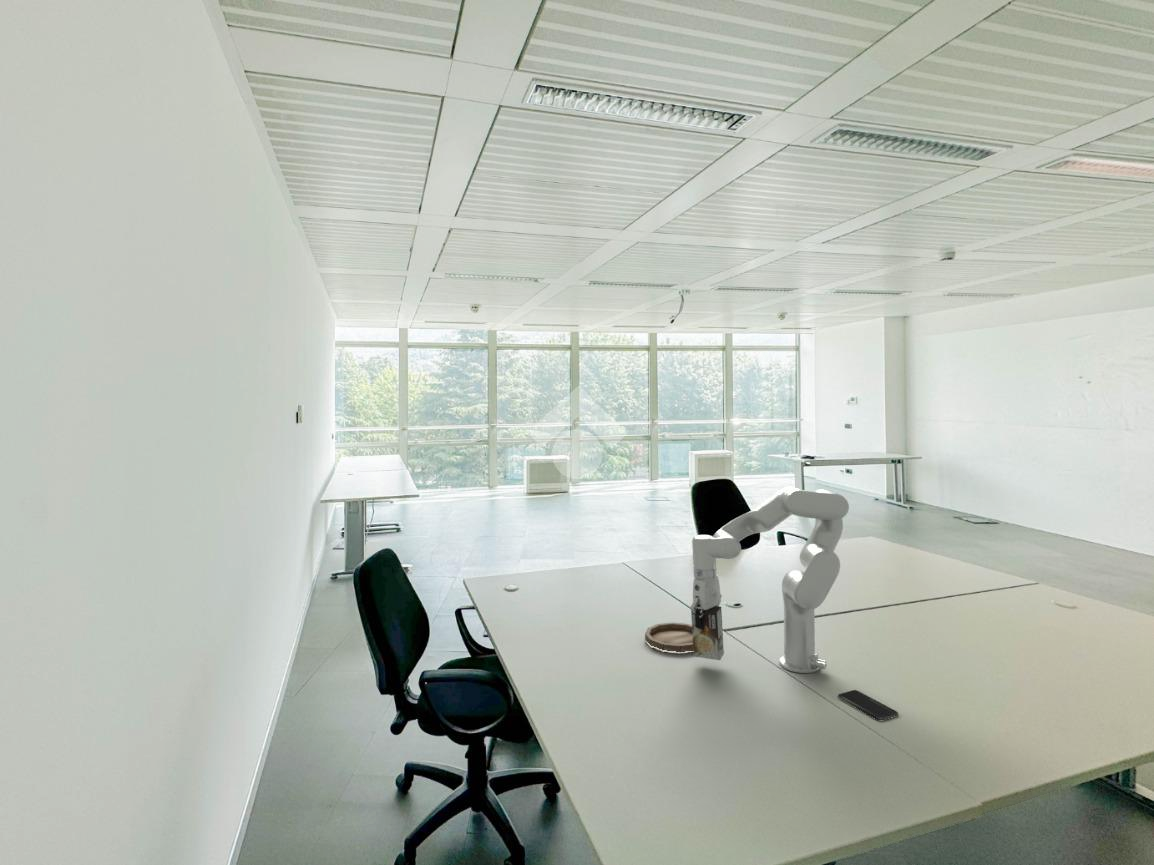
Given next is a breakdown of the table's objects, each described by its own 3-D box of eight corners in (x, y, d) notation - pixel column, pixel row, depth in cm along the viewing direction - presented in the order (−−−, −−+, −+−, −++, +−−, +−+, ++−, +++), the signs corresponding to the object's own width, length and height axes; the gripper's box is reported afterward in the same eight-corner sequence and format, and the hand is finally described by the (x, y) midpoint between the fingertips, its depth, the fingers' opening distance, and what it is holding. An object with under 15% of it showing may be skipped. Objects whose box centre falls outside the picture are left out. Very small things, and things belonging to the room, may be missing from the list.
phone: (879, 719, 160) (836, 694, 174) (879, 723, 160) (836, 698, 174) (900, 712, 163) (856, 689, 177) (900, 716, 163) (856, 692, 177)
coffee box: (724, 653, 197) (722, 606, 196) (720, 661, 191) (717, 612, 191) (698, 649, 201) (695, 603, 200) (692, 656, 195) (690, 609, 195)
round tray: (717, 641, 217) (717, 633, 217) (682, 659, 202) (682, 650, 202) (670, 626, 233) (670, 618, 233) (633, 642, 218) (633, 634, 218)
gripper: (699, 580, 186) (701, 635, 187) (729, 568, 198) (731, 619, 199) (680, 576, 192) (682, 629, 192) (710, 565, 204) (712, 614, 204)
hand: (707, 624), depth 196 cm, fingers closed on coffee box, 7 cm apart
